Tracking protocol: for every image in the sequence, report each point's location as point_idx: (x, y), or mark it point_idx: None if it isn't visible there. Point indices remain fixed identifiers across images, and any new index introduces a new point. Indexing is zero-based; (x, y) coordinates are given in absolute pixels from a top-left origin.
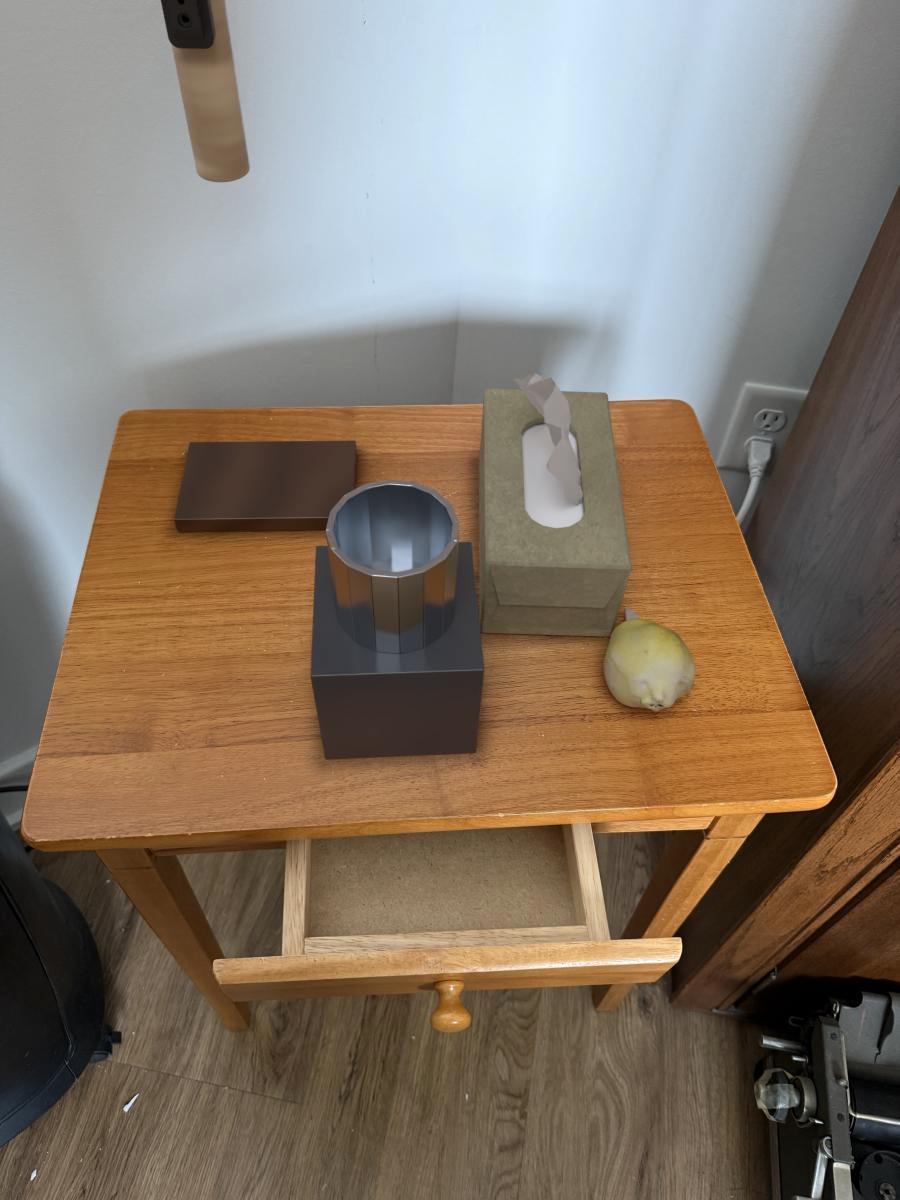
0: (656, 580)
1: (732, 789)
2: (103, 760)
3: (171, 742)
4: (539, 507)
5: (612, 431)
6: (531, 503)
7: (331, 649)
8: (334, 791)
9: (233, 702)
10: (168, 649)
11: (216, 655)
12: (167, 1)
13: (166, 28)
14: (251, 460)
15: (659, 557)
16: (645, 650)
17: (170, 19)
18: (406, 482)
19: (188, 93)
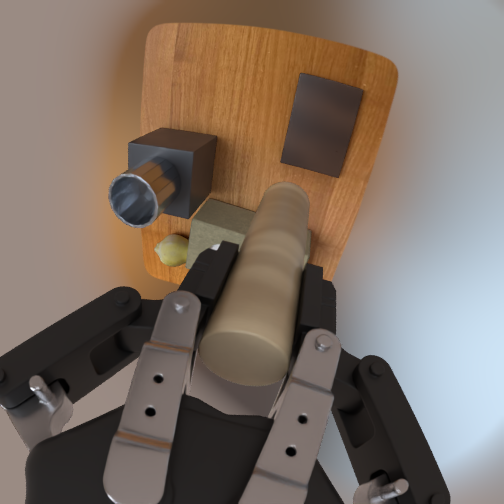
0: None
1: (144, 252)
2: (173, 44)
3: (176, 69)
4: None
5: None
6: None
7: (139, 151)
8: (149, 129)
9: (190, 93)
10: (223, 65)
11: (216, 86)
12: (189, 271)
13: (219, 246)
14: (338, 120)
15: None
16: (165, 254)
17: (196, 259)
18: (155, 213)
19: (256, 219)
